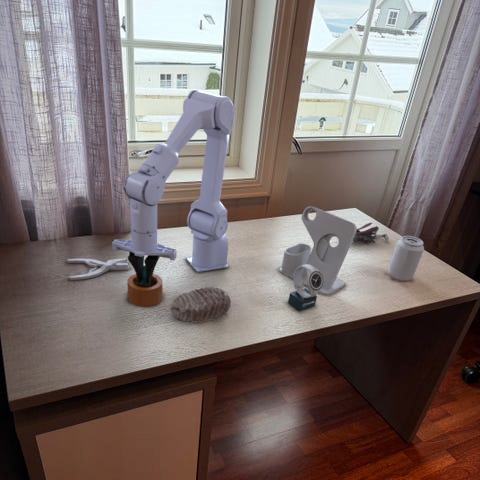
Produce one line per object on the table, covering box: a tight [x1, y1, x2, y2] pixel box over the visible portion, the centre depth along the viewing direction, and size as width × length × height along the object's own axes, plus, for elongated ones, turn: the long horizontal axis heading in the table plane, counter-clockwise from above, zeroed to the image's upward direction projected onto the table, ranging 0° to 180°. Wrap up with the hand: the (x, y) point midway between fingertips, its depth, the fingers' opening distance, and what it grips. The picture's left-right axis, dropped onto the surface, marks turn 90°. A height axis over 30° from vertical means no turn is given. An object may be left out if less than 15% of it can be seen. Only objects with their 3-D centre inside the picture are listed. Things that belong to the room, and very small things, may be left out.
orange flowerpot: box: [126, 273, 164, 307], centre depth 108 cm, size 8×8×5 cm
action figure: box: [352, 222, 390, 244], centre depth 149 cm, size 8×6×18 cm
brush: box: [140, 265, 151, 288], centre depth 106 cm, size 3×3×8 cm
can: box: [387, 235, 425, 282], centre depth 129 cm, size 8×8×12 cm
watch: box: [287, 264, 324, 313], centre depth 111 cm, size 6×8×11 cm
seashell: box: [170, 286, 232, 323], centre depth 104 cm, size 14×9×10 cm
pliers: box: [66, 257, 129, 281], centre depth 117 cm, size 10×2×15 cm
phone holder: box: [279, 205, 358, 296], centre depth 121 cm, size 17×10×18 cm, turn 47°
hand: (145, 280), depth 106 cm, fingers closed on brush
